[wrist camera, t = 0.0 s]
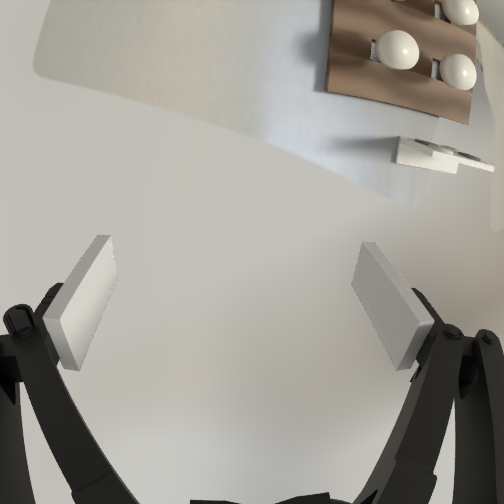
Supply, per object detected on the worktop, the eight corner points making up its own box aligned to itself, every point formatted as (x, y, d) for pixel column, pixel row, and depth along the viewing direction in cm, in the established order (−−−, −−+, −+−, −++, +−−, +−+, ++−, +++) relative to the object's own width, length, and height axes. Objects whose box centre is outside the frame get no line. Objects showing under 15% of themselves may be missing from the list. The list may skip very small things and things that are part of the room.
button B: (434, -10, 28) (451, -14, 24) (460, 3, 28) (478, 0, 24) (434, 19, 30) (452, 16, 26) (460, 31, 30) (478, 29, 27)
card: (399, 134, 41) (433, 148, 33) (459, 148, 42) (494, 164, 34) (395, 162, 43) (427, 180, 35) (454, 173, 44) (488, 192, 36)
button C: (369, 29, 31) (384, 25, 28) (403, 39, 32) (420, 37, 28) (366, 64, 34) (382, 63, 30) (400, 73, 34) (417, 73, 30)
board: (334, -60, 26) (337, -63, 25) (471, -7, 28) (475, -8, 27) (325, 91, 38) (327, 91, 37) (463, 123, 40) (467, 125, 39)
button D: (432, 50, 32) (451, 49, 28) (458, 60, 33) (477, 61, 29) (429, 82, 35) (448, 84, 31) (455, 91, 35) (474, 94, 31)
